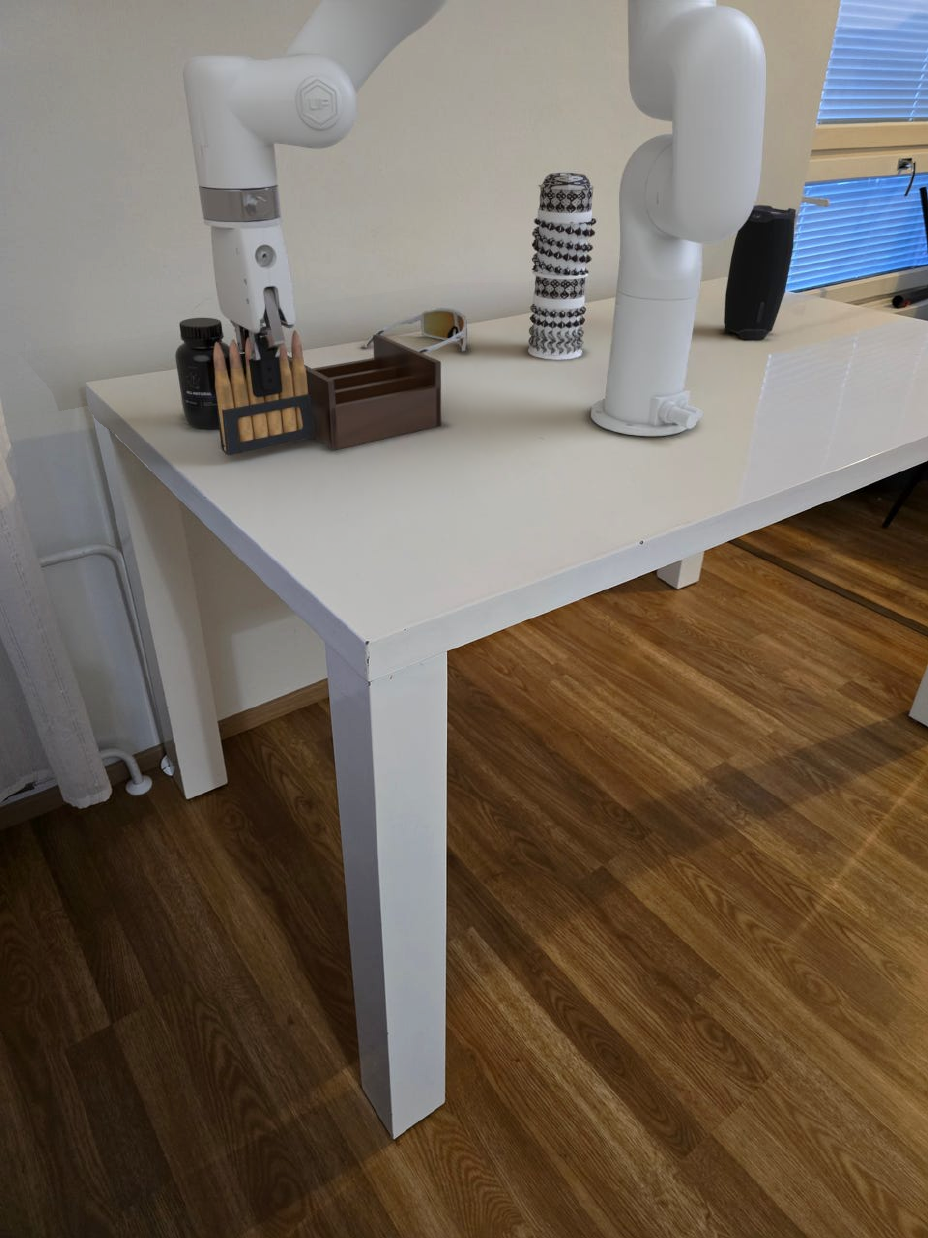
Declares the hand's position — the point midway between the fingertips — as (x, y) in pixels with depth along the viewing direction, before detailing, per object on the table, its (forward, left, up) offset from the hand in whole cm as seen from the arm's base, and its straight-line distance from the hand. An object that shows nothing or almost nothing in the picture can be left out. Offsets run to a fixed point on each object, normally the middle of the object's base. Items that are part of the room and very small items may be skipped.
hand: (263, 390), depth 93 cm
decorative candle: (+15, -55, -8) cm, 57 cm away
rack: (+5, -14, -7) cm, 16 cm away
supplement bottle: (+14, +1, -8) cm, 16 cm away
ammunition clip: (0, 0, -6) cm, 6 cm away
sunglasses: (+28, -38, -8) cm, 48 cm away
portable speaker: (+6, -90, -8) cm, 90 cm away
